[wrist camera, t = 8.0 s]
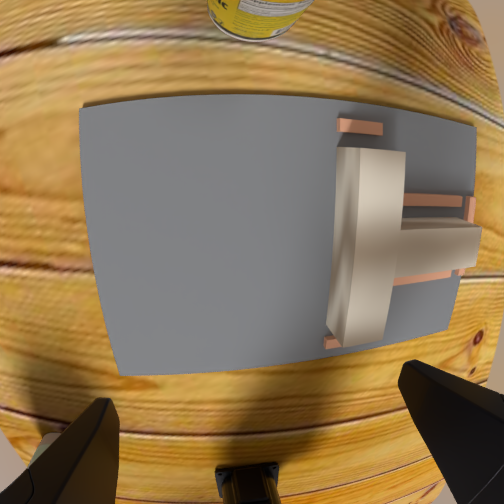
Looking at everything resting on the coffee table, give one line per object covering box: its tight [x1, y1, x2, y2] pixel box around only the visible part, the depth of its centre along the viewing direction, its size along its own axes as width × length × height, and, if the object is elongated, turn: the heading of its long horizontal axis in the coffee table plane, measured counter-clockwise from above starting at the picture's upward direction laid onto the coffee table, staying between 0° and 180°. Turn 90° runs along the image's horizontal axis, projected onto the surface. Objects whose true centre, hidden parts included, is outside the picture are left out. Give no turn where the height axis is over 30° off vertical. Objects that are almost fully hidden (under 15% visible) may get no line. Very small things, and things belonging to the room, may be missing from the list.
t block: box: [326, 147, 482, 348], centre depth 19 cm, size 12×11×3 cm
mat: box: [79, 94, 476, 376], centre depth 20 cm, size 18×28×1 cm, turn 91°
